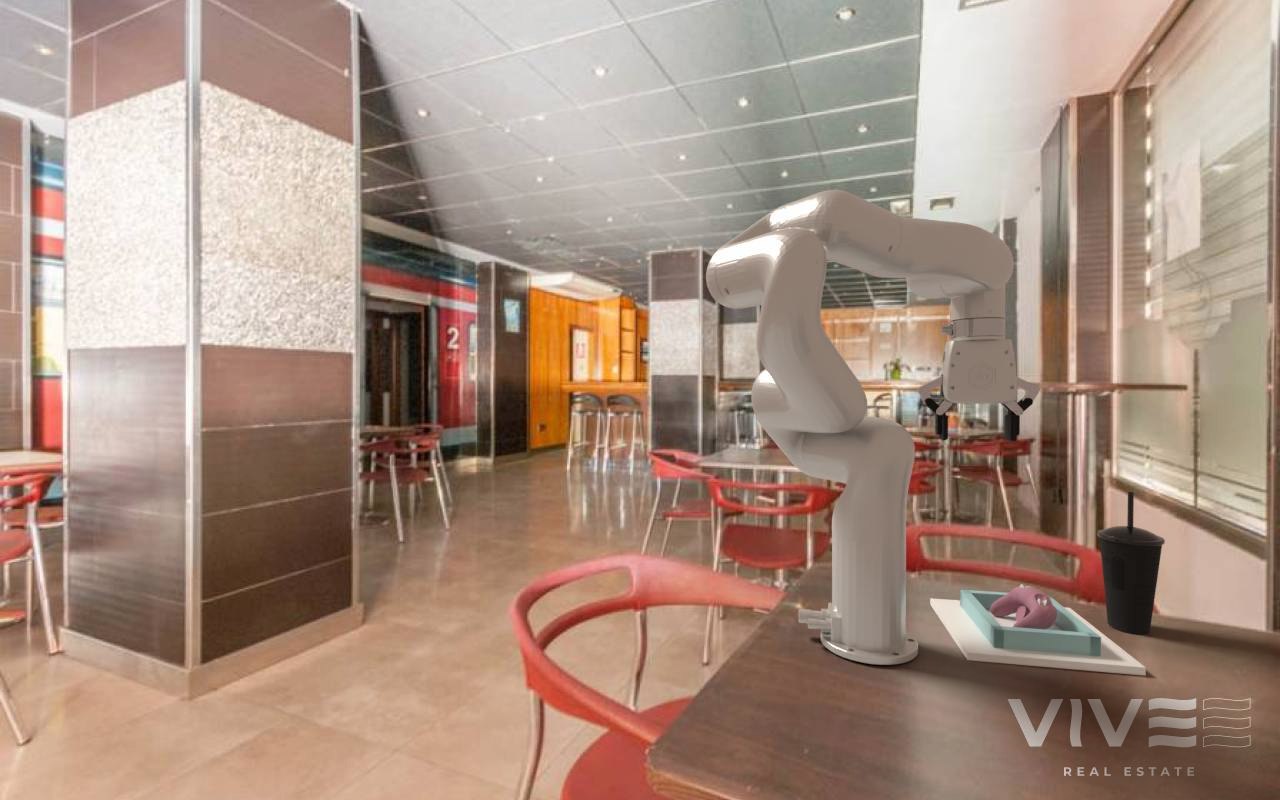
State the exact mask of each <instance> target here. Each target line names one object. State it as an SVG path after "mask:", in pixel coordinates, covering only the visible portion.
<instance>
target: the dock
mask: <svg viewBox="0 0 1280 800" xmlns="http://www.w3.org/2000/svg"><path fill="white" fill-rule="evenodd" d="M1008 593H1009V592H1003V591H1001V592H1000V591H987V590H986V591H985V590H972V589H971V590H970V589H960V590H959V600H958V599H943V598H932V597H931V598H930V606H931V607H932V609H933V611H934V612H935V614H936V615H937V617H938V618H939V620H940V621H941V623H942V624H943V626H944V627H945V629H946V630H947V633H949V635H950V637H951V638H952V639H953V640H954V642H955V643H956V645H957V646H958V649H959V650H960V651H961V653H962V654H963V655H964V656H963V657H965V658H966V660H967V661H973V662H984V663H985V662H986V663H995V664H997V663H998V664H1007V665H1008V664H1009V665H1018V666H1019V665H1020V666H1032V667H1040V668H1041V667H1043V668H1054V669H1065V670H1078V671H1085V672H1086V671H1088V672H1098V673H1099V672H1101V673H1110V674H1124V675H1134V676H1135V675H1136V676H1145V677H1146V676H1147V674H1146V671H1147V668H1146V666H1145V665H1143V664H1142V663H1140V662H1139V661H1138V660H1137V659H1135V658H1134V657H1133V656H1132V655H1130V654H1129V653H1128V652H1126V651H1125V650H1124V649H1123V648H1122V647H1120V646H1119V645H1118V644H1116V643H1115V642H1114V641H1112V640H1111V639H1110V638H1109V637H1107V636H1106V635H1105V634H1104V633H1103V632H1101V631H1100V630H1099V629H1097V628H1096V627H1095V626H1094V625H1092V624H1091V623H1090V622H1089V621H1087V620H1086V619H1084V618H1083V617H1082V616H1081V615H1079V614H1078V612H1076V611H1074V610H1073V609H1072V608H1071V607H1066V606H1065V607H1064V606H1063V605H1061V604H1060V603H1059V602H1058V601H1057V600H1055V599H1054V598H1053V597H1051V596H1050V595H1049V594H1046V595H1047V596H1048V597H1049V598H1050V600H1051V602H1052V605H1053V606H1054V607H1055V608H1056V609H1057V617H1056V618H1057V619H1056V622H1055V623H1054V624H1053V625H1052V626H1051V627H1050V628H1048V629H1046V630H1045V629H1032V628H1018V627H1013V626H1014V624H1015V623H1016V622H1017V621H1016V619H1015V617H1016V613H1017V612H1015V613H1013V614H1010V615H1007V616H1003V617H996V616H994V615H993V614H992V613H991V611H990V608H991V605H992V604H993V603H994V602H995V601H996V600H998V599H999V598H1001V597H1003V596H1005V595H1006V594H1008Z"/></svg>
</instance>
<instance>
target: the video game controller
mask: <svg viewBox="0 0 1280 800" xmlns="http://www.w3.org/2000/svg"><path fill="white" fill-rule="evenodd" d="M1007 593H1008V594H1006V595H1005V596H1003V597H1001V598H999V599H998V600H996V601H995V602H994V603H993V604H992V605H991V608H990V611H991V613H992V614H993V615H994V616H996V617H1003V616H1007V615H1010V614H1013V613H1015V612H1017V613H1016V617H1015V619H1016V621H1017V622H1016V623H1015V624H1014V626H1013V627H1018V628H1032V629H1045V630H1046V629H1048V628H1050V627H1051V626H1052V625H1053V624H1054V623H1055V622H1056V619H1057V618H1056V617H1057V609H1056V608H1055V607H1054V606H1053V605H1052V602H1051V600H1050V598H1049V597H1048V596H1047V595H1048V594H1046V592H1044V591H1043V590H1040V589H1039V588H1036V587H1033V586H1024V584H1022V583H1021V584H1020V585H1019V586H1016V587H1014V588H1012V589H1011V590H1010V591H1009V592H1007Z"/></svg>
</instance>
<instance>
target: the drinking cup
mask: <svg viewBox="0 0 1280 800" xmlns="http://www.w3.org/2000/svg"><path fill="white" fill-rule="evenodd" d="M1134 497H1135V493H1134V492H1133V491H1128V492H1127V516H1126V517H1127V519H1126V520H1127V521H1126V522H1127V523H1126V525H1117V526H1111V527H1107V528H1104V529H1099V530H1097V531H1096V532H1097V533H1096V535H1097V537H1098V538H1099V545H1100V557H1101V566H1102V577H1103V578H1102V579H1103V586H1104V587H1103V588H1104V597H1105V609H1106V620H1107V621H1106V622H1107V625H1108V624H1109V625H1110V626H1112V627H1113V629H1114V628H1115V629H1114V630H1116V629H1118V630H1117V631H1119V630H1121V631H1120V632H1123V631H1124V633H1127V632H1128V634H1132V633H1133V634H1134V635H1147V634H1150V632H1151V627H1152V626H1151V625H1152V620H1153V619H1152V618H1153V612H1154V605H1155V599H1156V593H1157V592H1156V591H1157V585H1158V584H1157V583H1158V575H1159V570H1160V562H1161V554H1162V549H1163V546H1164V545H1165V543H1166V541H1165V538H1164V537H1162V536H1160V535H1158V534H1155V533H1153V532H1151V531H1149V530H1146V529H1144V528H1139V527H1135V526H1134V502H1135V498H1134ZM1109 625H1108V626H1109ZM1110 626H1109V627H1110ZM1112 627H1111V628H1112ZM1133 634H1132V635H1133Z"/></svg>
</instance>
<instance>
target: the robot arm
mask: <svg viewBox="0 0 1280 800" xmlns="http://www.w3.org/2000/svg"><path fill="white" fill-rule="evenodd" d="M827 261H831V262H834V263H837V264H839V265H843V266H846V267H849V268H851V269H854V270H857V271H860V272H862V273H865V274H867V275H870V276H872V277H876V278H884V279H885V278H886V279H905V282H906V284H907V286H908V288H909V290H910V291H911V292H912V293H913V294H914V295H916V296H918V297H920V298H922V299H926V300H937V299H945V298H947V299H948V298H949V299H950V321H949V323H948V324H946V325H941V326H940V334H941V335H946V336H948V337H949V338H948V339H950V340H947V341H946V342H945V345H944V349H943V354H942V355H943V356H942V363H941V371H940V372H941V373H940V376H939V377H936V378H935V379H933V380H931V381H928V382H927V383H925V384H922V385H920V386H918V387H917V388H916V391H917V394H918V395H919V397H920V399H921V400H922V401H923V405H925V406H926V407H927V408H928V409H929V410H930V411H931V412H933V413H932V414H934V417H935V418H934V419H935V420H934V422H935V423H934V432H935V435H936V436H937V435H938V439H939V440H942V441H947V440H948V439H949V416H948V415H947V414H946V413H947V411H948V410H949V409H950V408H951V406H953V404H1001V406H1002V407H1003V408H1004V409H1005V410H1006V411H1007V414H1005V415H1004V440H1006V441H1010V442H1016V441H1017V436H1020V432H1021V431H1020V430H1021V428H1020V427H1021V425H1020V424H1021V423H1020V421H1021V416H1022V415H1023V414H1024V412H1025V411H1027V409H1028V408H1030V407H1031V406H1032V405H1033V403H1034V400H1035V399H1036V398H1037V397H1038V395H1039V393H1040V391H1041V389H1040V388H1041V387H1039V386H1038V385H1036V384H1033V383H1031V382H1029V381H1027V380H1024V379H1023V378H1020V377H1018V376H1017V366H1016V358H1015V352H1014V351H1015V350H1014V347H1013V342H1012V339H1010V338H1007V339H1006V284H1007V283H1008V282H1009V280H1010V279H1011V278H1012V274H1013V272H1014V264H1015V263H1014V256H1013V253H1012V251H1011V249H1010V247H1009V246H1008V245H1007V243H1006V242H1005V241H1004V240H1003V239H1001V237H999V236H997V235H995V234H994V233H992V232H989V231H988V230H986V229H984V228H981V227H979V226H976V225H974V224H969V223H965V222H956V221H946V220H935V219H929V218H920V217H919V218H917V217H915V218H913V217H905V216H902V215H899V214H896V213H895V212H892V211H890V210H889V209H886V208H884V207H882V206H879V205H877V204H875V203H873V202H871V201H869V200H867V199H865V198H862V197H860V196H859V195H856V194H853V193H851V192H848V191H845V190H841V189H827V190H823V191H820V192H816V193H813V194H811V195H808V196H805V197H802V198H800V199H796V200H794V201H791V202H789V203H785V204H783V205H781V206H779V207H777V208H775V209H774V210H772V211H770V212H769V213H767V214H766V215H765V216H763V217H762V218H760V219H758V220H757V221H756V222H754V223H753V224H751V225H750V226H749V227H748V228H746V229H745V230H744V231H742V232H740V233H739V234H738V235H736V236H735V237H733V238H731V239H730V240H729V241H728V242H726V243H724V244H723V245H722V246H720V247H719V248H718V249H717V250H716V251H715V252H714V254H713V255H712V257H710V260H709V261H708V264H707V268H706V271H705V272H706V273H705V279H706V280H705V281H706V287H707V289H708V291H709V294H710V296H711V297H712V298H713V300H715V301H716V303H718V304H720V305H722V306H724V307H725V308H729V309H734V310H738V309H740V310H741V309H748V308H752V307H753V308H754V307H760V313H759V320H758V325H757V334H756V343H755V344H756V351H757V355H758V357H759V360H760V363H762V366H763V368H764V370H762V371H761V372H760V373H759V374H758V375H757V376H756V378H755V379H754V382H753V385H752V386H751V387H752V389H751V395H750V398H751V407H752V409H753V413H754V417H755V418H756V420H757V421H758V423H759V425H760V427H762V428H763V430H764V431H765V432H766V433H767V435H768V436H769V437H770V439H771V440H772V441H773V442H774V443H775V444H776V445H777V448H779V449H780V450H781V452H782V453H783V454H784V455H785V456H786V458H788V460H789V461H790V463H791V464H792V465H794V467H795V468H797V470H799V471H800V472H801V473H803V474H805V475H807V476H808V477H812V478H816V479H817V478H818V479H823V480H828V481H832V482H838V483H843V484H845V487H844V489H843V492H842V493H841V495H840V496H839V498H838V500H837V502H836V503H835V505H834V508H833V512H832V518H831V548H832V549H831V558H832V559H831V566H832V567H831V574H832V575H831V602H828V604H827V605H828V607H827V608H821V609H820V610H812V609H808V608H806V609H805V608H798V623H799V624H807V629H811V630H820V641H821V644H822V645H823V646H824V648H826V649H828V650H829V651H830V652H832V653H833V654H835V655H837V656H839V657H841V658H844V659H847V660H850V661H853V662H859V663H863V664H868V665H878V666H891V665H893V666H894V665H899V664H905V663H908V662H910V661H912V660H914V659H915V658H916V657H917V655H918V654H919V644H918V641H917V639H916V638H915V637H914V636H913V635H911V633H909V632H907V629H906V628H907V627H906V622H907V621H906V620H907V619H906V615H907V614H906V612H907V611H906V608H907V605H906V604H907V603H906V602H907V601H906V600H907V599H906V598H907V591H906V590H907V587H906V585H907V578H906V577H907V508H908V507H907V506H908V505H907V504H908V495H909V494H908V493H909V488H910V487H909V486H910V482H911V477H912V472H913V468H914V463H915V460H916V459H915V457H916V447H915V443H914V439H913V436H912V435H911V434H910V432H909V431H908V429H907V428H905V427H904V426H903V425H902V424H900V423H898V422H897V421H894V420H892V419H890V418H888V419H887V418H885V417H879V416H867V412H868V399H867V395H866V392H865V391H864V388H863V386H862V383H861V382H860V381H859V379H858V378H857V376H856V375H855V373H854V372H853V371H852V369H851V367H849V365H848V363H847V362H846V361H845V359H844V358H843V356H842V355H841V354H840V352H839V350H838V349H837V348H836V347H835V344H834V343H833V342H832V341H831V339H830V337H829V336H828V334H827V333H826V330H825V328H824V325H823V322H822V316H821V315H822V312H821V311H822V299H823V291H824V288H825V287H824V286H825V281H826V277H827V269H828V265H827V264H828V262H827ZM936 388H939V392H940V393H939V394H940V398H941V399H940V401H938V403H937V402H936V400H934V399H933V398H932V396H931V394H930V392H931V391H933V390H935V389H936ZM1018 389H1021V390H1023V391H1024V394H1023V395H1024V396H1023V398H1021V399H1020V400H1018V402H1016V400H1017V398H1018V397H1017V396H1018Z"/></svg>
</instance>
